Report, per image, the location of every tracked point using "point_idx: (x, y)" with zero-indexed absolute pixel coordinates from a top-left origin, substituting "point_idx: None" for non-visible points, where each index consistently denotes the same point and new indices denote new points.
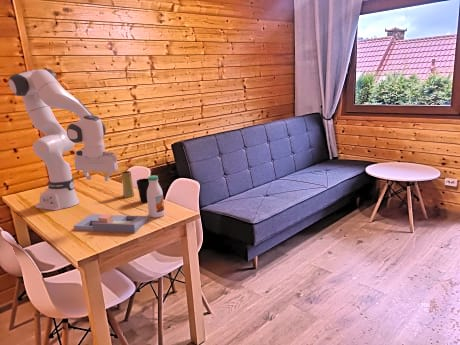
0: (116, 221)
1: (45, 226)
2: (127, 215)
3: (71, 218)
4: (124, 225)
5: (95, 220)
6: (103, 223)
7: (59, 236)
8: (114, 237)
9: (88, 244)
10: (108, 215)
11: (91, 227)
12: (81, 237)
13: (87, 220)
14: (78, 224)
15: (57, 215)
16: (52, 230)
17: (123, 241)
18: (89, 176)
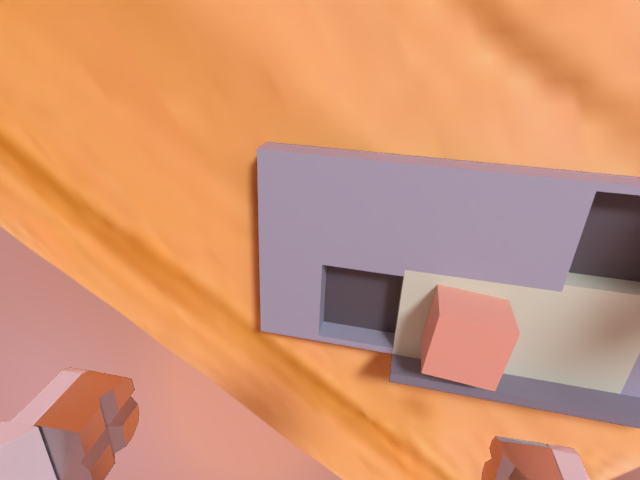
0: (530, 295)
1: (82, 261)
2: (602, 184)
3: (136, 149)
4: (636, 422)
5: (358, 266)
6: (473, 395)
7: (242, 376)
8: (554, 422)
9: (434, 464)
10: (487, 341)
11: (377, 347)
12: (361, 399)
13: (301, 263)
14: (278, 316)
15: (6, 94)
16: (157, 311)
17: (622, 467)
18: (98, 468)
